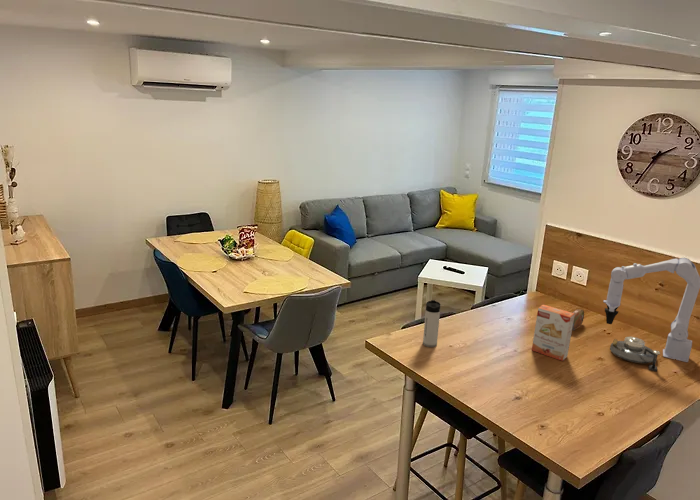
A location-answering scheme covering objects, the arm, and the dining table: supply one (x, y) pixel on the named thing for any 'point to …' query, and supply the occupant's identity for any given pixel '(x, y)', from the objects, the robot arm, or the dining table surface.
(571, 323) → the cracker box
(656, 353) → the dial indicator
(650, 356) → the disc
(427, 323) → the travel mug
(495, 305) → the dining table surface
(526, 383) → the dining table surface
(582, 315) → the tin
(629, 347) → the cover
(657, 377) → the dining table surface
